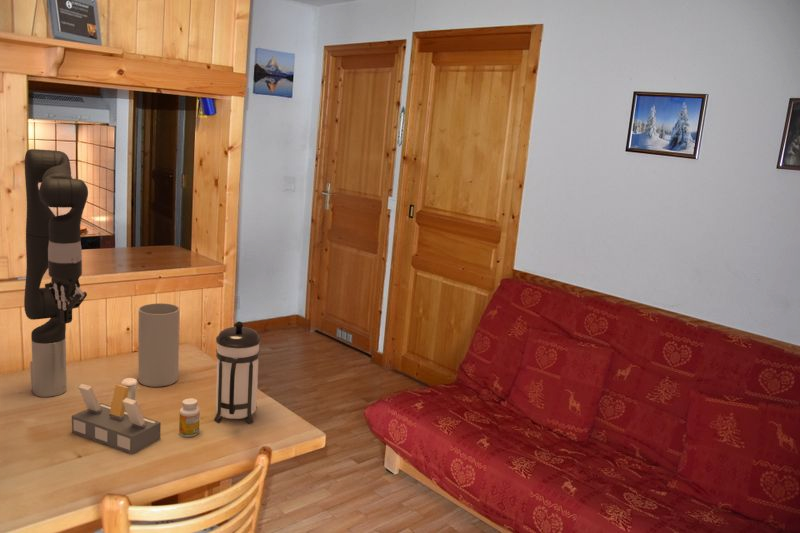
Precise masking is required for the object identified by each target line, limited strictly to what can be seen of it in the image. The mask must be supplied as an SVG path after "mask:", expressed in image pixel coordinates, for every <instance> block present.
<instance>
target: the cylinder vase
mask: <svg viewBox="0 0 800 533" xmlns="http://www.w3.org/2000/svg"><path fill="white" fill-rule="evenodd" d="M179 345H180V306H177V305H175V304H171V303H163V302H162V303H161V302H160V303H157V302H156V303H148V304H145V305H144V304H143V305H141V306H140V307H138V368H137V370H138V372H137V373H138V378H139V379H138V378H137V379H138V382H139V383H140V384H141V385H142V386H146V387H149V388H150V387H151V388H160V387H161V388H163V387H168V386H170V385H173V384H174V383H176V382H177V381H178V380H179V365H180V364H179V360H180V359H179V358H180V356H179V350H180V346H179Z"/></svg>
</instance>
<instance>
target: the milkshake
mask: <svg viewBox="0 0 800 533" xmlns="http://www.w3.org/2000/svg"><path fill="white" fill-rule="evenodd" d="M138 382H139V378H137V379H136V378H134V377H126V378H124V379H122V381H121V383H120V385H123V386H126V387H129V392H128V397H127V398H129V399H132V400H135V401H137V392H138V390H137V389H138Z"/></svg>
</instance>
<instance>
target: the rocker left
mask: <svg viewBox="0 0 800 533" xmlns="http://www.w3.org/2000/svg"><path fill="white" fill-rule="evenodd" d="M77 388H78V390H79V393H80V394H81V396H82V399H83V401H84V403H85V406H86V409H89V410H92V411H95V412H98V413H101V412H102V410H101V409H100V408H101V407H100V405H99V404H100V403H99V400H98V398H97V396H96V393H95V392H94V389H93V387H92V386H90V385H87V384H84V383H81V384H80V385H79V386H78V387H77Z"/></svg>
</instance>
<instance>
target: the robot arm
mask: <svg viewBox="0 0 800 533" xmlns="http://www.w3.org/2000/svg"><path fill="white" fill-rule="evenodd" d="M24 180H25V193H26V194H25V195H26V216H25V217H26V218H25V219H26V222H25V252H26V253H25V255H26V259H25V260H26V270H25V272H26V273H25V285H24V299H23V303H24V304H23V306H24V312H25V315H26V317H27V318H28V320H31V321H35V320H43V319H48V320H47V322H45V323H43V324H41V325H40V326H37V327H35V328H34V329H33V330H32V331H31V334H30V336H31V337H30V338H31V339H30V340H31V361H30V364H29V366H30V367H29V368H30V369H29V370H30V389H31V392H33V394H34V395H35V396H38V397H41V398H49V397H56V396H60V395H61V394H64V393H66V391H67V388H68V387H67V384H68V383H67V380H68V379H67V344H66V343H67V342H66V340H67V339H66V338H67V337H66V336H67V335H66V331H67V324H70V323H72V321H73V309H77V308H79V307H80V305H81V304H82V303H83V302H84V300H85V299H86V297H87V296H88V293H87V292H86V291H83V290H82V289H81V288H80V287H81V283H80V281H79V279H80V277H81V276H82V274H83V262H82V261H83V260H82V259H83V254H82V253H83V252H82V251H83V250H82V245H81V244H82V243H81V223H82V217H83V213H84V210H85V207H86V205H87V204H86V203H87V201H88V195H89V190H88V186H87V183H85V182H84V181H83V180H81V179H78V178H73V177H72V168H71V162H70V158H69V156H68V154H66V153H65V152H63V151H61V150H51V149H39V148H38V149H37V148H32V149H28V150H27V151H26V152H25V156H24ZM39 183H40V186H39ZM51 208H53V209H55V208H57V209H58V208H67V209H68V208H70V210H69V211H68V212H67V213H65V214H61V215H60V214H59V215H55V213H54V212H53V211H52V210H51ZM47 271H48V276H49V277H50V280H51V281H50V282H49V283H45V284H44V287H41V285H42V284H41V283H42V280H43V278H44V276H45V274H46V272H47Z"/></svg>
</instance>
